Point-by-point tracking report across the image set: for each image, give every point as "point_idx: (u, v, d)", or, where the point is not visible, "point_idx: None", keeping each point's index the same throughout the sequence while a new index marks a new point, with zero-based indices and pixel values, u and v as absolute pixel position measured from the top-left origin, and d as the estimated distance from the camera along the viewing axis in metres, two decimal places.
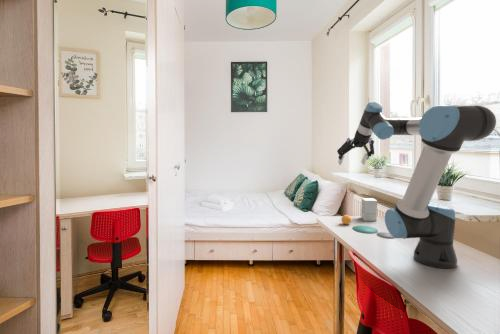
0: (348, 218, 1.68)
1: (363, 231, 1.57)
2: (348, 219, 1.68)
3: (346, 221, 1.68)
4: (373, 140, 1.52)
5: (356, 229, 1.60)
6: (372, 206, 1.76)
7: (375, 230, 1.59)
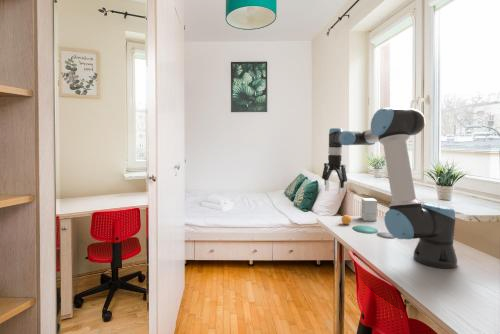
0: (348, 218, 1.68)
1: (363, 231, 1.57)
2: (348, 219, 1.68)
3: (346, 221, 1.68)
4: (343, 165, 1.69)
5: (356, 229, 1.60)
6: (372, 206, 1.76)
7: (375, 230, 1.59)
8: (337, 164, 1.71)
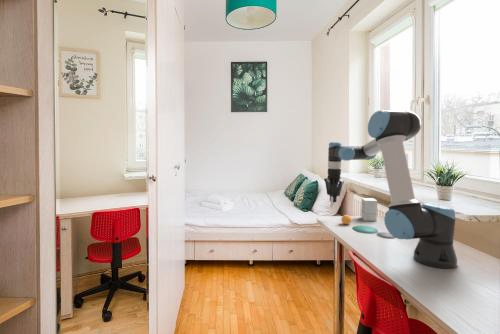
0: (348, 218, 1.68)
1: (363, 231, 1.57)
2: (348, 219, 1.68)
3: (346, 221, 1.68)
4: (342, 182, 1.70)
5: (356, 229, 1.60)
6: (372, 206, 1.76)
7: (375, 230, 1.59)
8: (336, 178, 1.72)
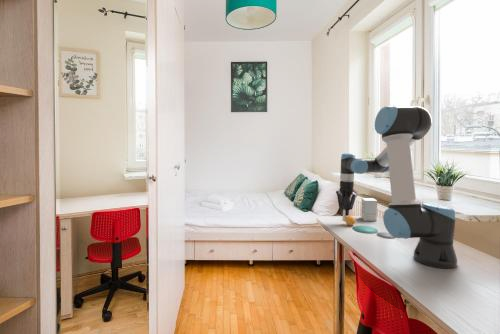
0: (352, 221, 1.66)
1: (363, 231, 1.57)
2: (352, 222, 1.66)
3: (349, 223, 1.66)
4: (355, 195, 1.64)
5: (356, 229, 1.60)
6: (372, 206, 1.76)
7: (375, 230, 1.59)
8: (349, 191, 1.66)
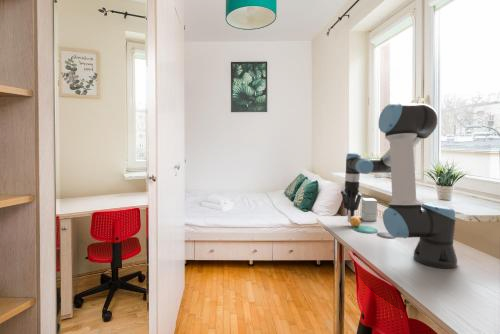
0: (358, 223, 1.63)
1: (363, 231, 1.57)
2: (357, 224, 1.63)
3: (354, 225, 1.64)
4: (360, 195, 1.61)
5: (356, 229, 1.60)
6: (372, 206, 1.76)
7: (375, 230, 1.59)
8: (355, 191, 1.63)
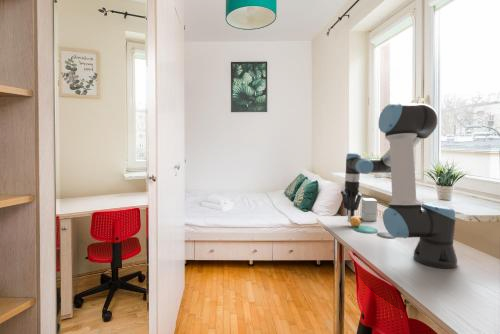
0: (358, 223, 1.63)
1: (363, 231, 1.57)
2: (357, 224, 1.63)
3: (354, 225, 1.64)
4: (360, 195, 1.61)
5: (356, 229, 1.60)
6: (372, 206, 1.76)
7: (375, 230, 1.59)
8: (355, 191, 1.63)
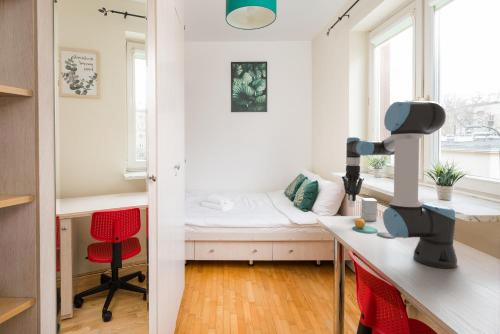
0: None
1: (363, 231, 1.57)
2: None
3: (356, 226, 1.62)
4: (361, 179, 1.60)
5: (356, 229, 1.60)
6: (372, 206, 1.76)
7: (375, 230, 1.59)
8: (356, 175, 1.62)
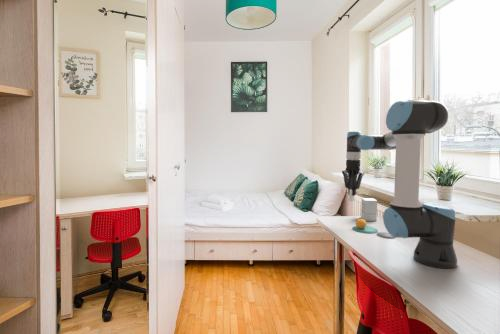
0: (360, 228, 1.62)
1: (363, 231, 1.57)
2: (359, 228, 1.62)
3: (357, 226, 1.62)
4: (362, 173, 1.59)
5: (356, 229, 1.60)
6: (372, 206, 1.76)
7: (375, 230, 1.59)
8: (356, 169, 1.62)
